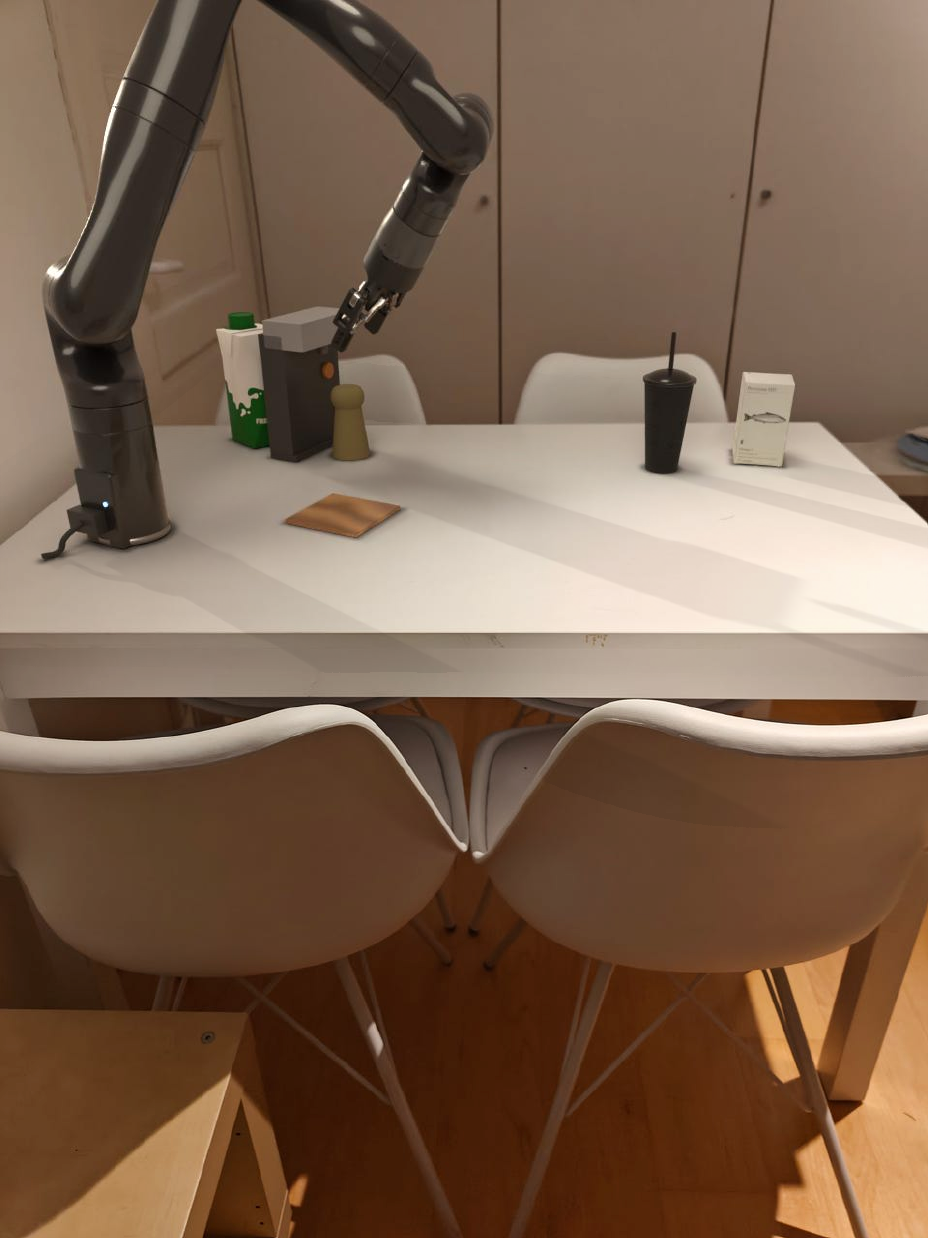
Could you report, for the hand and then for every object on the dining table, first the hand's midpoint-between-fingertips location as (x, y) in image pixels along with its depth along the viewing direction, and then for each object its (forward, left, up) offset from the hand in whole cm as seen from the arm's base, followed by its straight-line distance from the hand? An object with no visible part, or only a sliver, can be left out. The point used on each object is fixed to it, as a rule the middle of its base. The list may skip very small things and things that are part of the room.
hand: (353, 338), depth 133 cm
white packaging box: (+30, -53, -19) cm, 64 cm away
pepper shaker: (+4, +5, -19) cm, 20 cm away
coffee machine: (+4, +12, -19) cm, 23 cm away
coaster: (-19, -9, -19) cm, 28 cm away
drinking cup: (+19, -41, -19) cm, 50 cm away
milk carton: (+4, +23, -19) cm, 30 cm away
